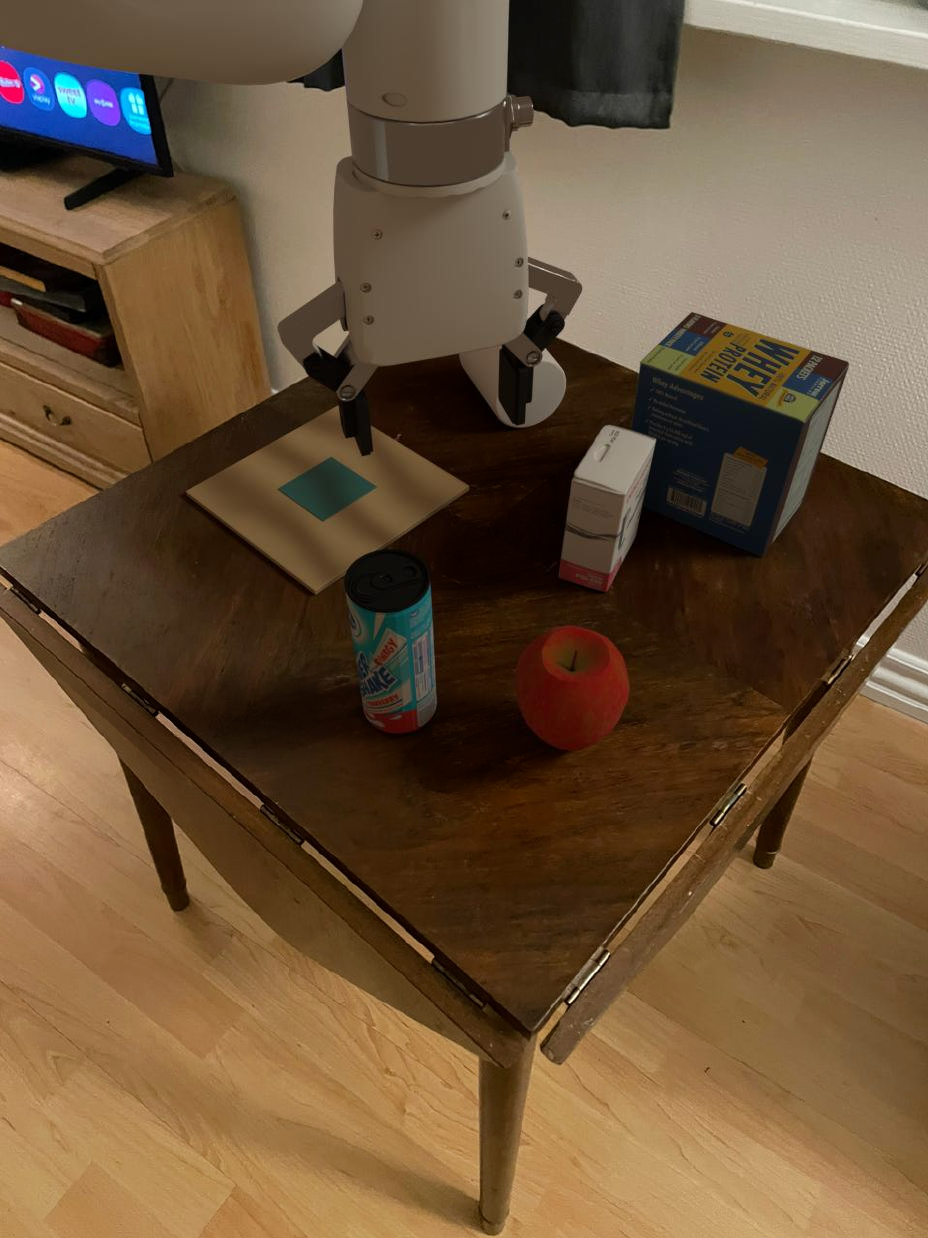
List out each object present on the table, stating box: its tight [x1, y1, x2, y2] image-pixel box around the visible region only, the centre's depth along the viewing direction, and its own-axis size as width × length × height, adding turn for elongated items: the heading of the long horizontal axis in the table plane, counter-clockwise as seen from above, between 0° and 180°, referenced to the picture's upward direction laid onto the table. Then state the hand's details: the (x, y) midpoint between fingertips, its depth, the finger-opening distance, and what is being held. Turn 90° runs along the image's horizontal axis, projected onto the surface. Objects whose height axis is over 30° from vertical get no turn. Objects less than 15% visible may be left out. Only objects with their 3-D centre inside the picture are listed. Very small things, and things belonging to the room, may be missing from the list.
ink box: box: [558, 424, 656, 593], centre depth 82 cm, size 9×5×12 cm, turn 155°
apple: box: [513, 624, 631, 752], centre depth 69 cm, size 9×8×11 cm
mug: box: [458, 315, 567, 429], centre depth 99 cm, size 8×10×12 cm
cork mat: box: [185, 405, 470, 595], centre depth 93 cm, size 20×20×1 cm
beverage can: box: [343, 548, 438, 736], centre depth 69 cm, size 6×6×15 cm
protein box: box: [630, 311, 850, 558], centre depth 86 cm, size 10×15×16 cm
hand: (437, 427), depth 58 cm, fingers open, 9 cm apart
